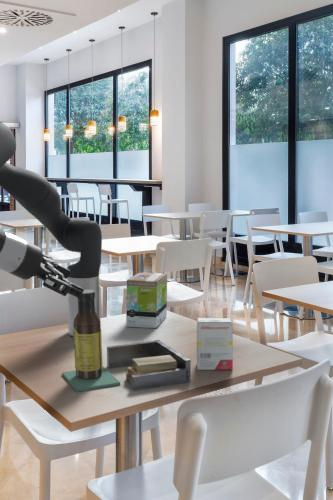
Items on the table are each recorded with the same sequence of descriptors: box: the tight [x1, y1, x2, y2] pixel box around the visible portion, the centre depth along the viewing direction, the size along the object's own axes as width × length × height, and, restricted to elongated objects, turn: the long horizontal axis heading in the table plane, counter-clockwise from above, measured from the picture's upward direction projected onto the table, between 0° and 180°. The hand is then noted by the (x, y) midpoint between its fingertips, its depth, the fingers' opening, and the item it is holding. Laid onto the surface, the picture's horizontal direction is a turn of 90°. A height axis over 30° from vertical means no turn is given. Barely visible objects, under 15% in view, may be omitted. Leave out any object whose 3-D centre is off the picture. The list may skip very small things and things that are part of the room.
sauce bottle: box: [73, 290, 104, 379], centre depth 136 cm, size 6×6×20 cm
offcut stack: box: [125, 355, 177, 385], centre depth 136 cm, size 6×11×4 cm, turn 115°
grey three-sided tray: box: [106, 339, 192, 392], centre depth 140 cm, size 18×14×5 cm
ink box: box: [196, 317, 234, 371], centre depth 144 cm, size 9×5×12 cm, turn 88°
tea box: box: [125, 272, 168, 329], centre depth 187 cm, size 15×10×15 cm, turn 168°
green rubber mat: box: [61, 366, 121, 393], centre depth 136 cm, size 12×10×1 cm
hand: (74, 283), depth 133 cm, fingers open, 8 cm apart
